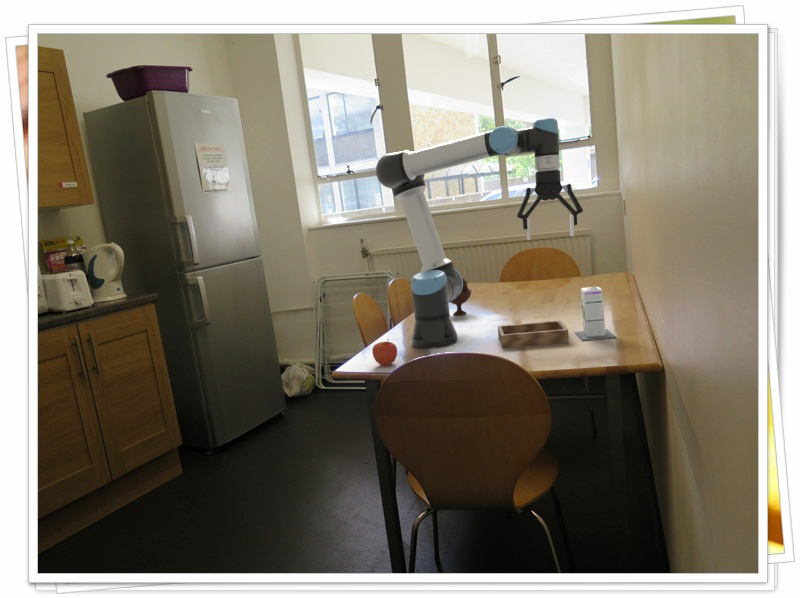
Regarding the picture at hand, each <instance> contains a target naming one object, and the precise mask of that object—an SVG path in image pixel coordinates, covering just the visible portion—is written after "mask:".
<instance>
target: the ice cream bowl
mask: <svg viewBox="0 0 800 598" xmlns="http://www.w3.org/2000/svg"><path fill="white" fill-rule="evenodd" d="M462 280H463V288H462V291H461V293H460V294H459V296H458V297H457V298H456V299H455V300H453V301H451V302H450V303H451V304H452V305H456V310H455V312H454V313H453V315H452V316H454V317H458V316H459V317H460V316H465V315H467V312H466V311H464V310H463V308H462V305H463V304H465V303H466V302H468V300H469V299H470V298H471V295H472V289H469V287H468V281H467V280H466V279H465V278H463V277H462Z"/></svg>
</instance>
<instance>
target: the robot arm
mask: <svg viewBox="0 0 800 598" xmlns="http://www.w3.org/2000/svg"><path fill="white" fill-rule="evenodd" d="M528 153H534V169H535V170H536V172H535V176H534V177H535V187H533V188H532V187H526V188H525V195H524V198H523V201H522V203H521V204H520V206H519V209H518V211H517V214H516V217H517V218H519V219H522V228H523V230H526V240H528V241H531V226H530V225H531V222H530V219H529V218H528V217H530V215H531V213H532V212H533V211H534V210H535V208H536V207H537V206H538V204H540V202H541V201H549V200H551V201H554V200H556V199H557V200H558V201H559V202H560V203H561V204H562V205H563V206H564V208H566V210H567V211H568V212H570V213H571V214H570V215H569V235H570V237H575V226H577V225H578V215H579V214H581V213H583V212H584V210H583V207H582V206H581V204H580V202H579V200H578V199H577V197H576V195H575V194H574V192H573V188H572V184H571V183H567V184H563V185H562V183H561V170H560V169H559V168H561V167H560V166H561V164H560V163H561V162H560V133H559V125H558V120H557V119H556V118H553V117H552V118H551V117H550V118H549V117H546V118H540V119H535V120H534V121H533V122H532V127H527V128H519V129H515V128H512V127H510V126H507V125H501V126H497V127H495V128H494V129H491V130H488V131H484V132H481V133H477V134H474V135H469V136H466V137H462V138H459V139H455V140H451V141H447V142H444V143H440V144H438V145H437V144H436V145H433V146H430V147H429V146H428V147H426V148H425V147H424V148H422V149H418V150H415V151H414V150H413V151H409V150H408V149H406V150H401V151H398V152H389V153H387V154H384V155H383V156H381V157H380V158H379V160H378V162H377V163H376V167H375V176H376V179H377V180H378V181H379V183H380V184H381V185H382V186H384V187H385V188H387V189H391V191H392V194H393V197H394V198H395V199H396V200H398V201H400V204H401V207H402V209H403V213H404V215H405V219H406V221H407V224H408V226H409V230H410V232H411V236H412V237H413V242H414V244H415V246H416V247H415V248H416V249H417V252H418V255H419V256H418V257H419V259H420V262H421V263H422V267H421V270H420V272H418V273H416V274H415V275H413V276H412V277H411V280H410V290H411V294H412V295H411V297H412V304H413V305H412V306H413V313H414V326H413V332H412V336H411V342H412V346H414V347H415V348H419V349H420V348H421V349H434V348H433V347H436V348H441V347H442V346H443V347H447V346H451V345H453V344H455V343H457V342H458V334H457V330H456V328H455V327H454V324H453V322H452V319H451V316H450V314H451V313H450V306H449V305H450V303H451V301H453V300H455V299H456V298H457V297H458V296H459V294H460V293H461V291H462V288H463V280H462V278H463V277H462V275H461V274H460V272H459V271H458V270H456V269H455V266H454V264H453V261H452V260H451V259H449V258H447V257H446V254H445V250H444V247H443V245H442V242H441V240H440V237H439V233H438V230H437V228H436V224H435V221H434V219H433V216H432V213H431V210H430V207H429V205H428V201H427V199H426V196H425V190H426V188H427V185H426V183H425V179H424V177H425V174H428V173H432V172H438V171H441V170H444V169H449V168H453V167H458V166H460V165H464V164H468V163H469V164H470V163H472V162H476V161H480V160H485V159H488V158H492V157H498V156H500V157H502V156H506V157H509V156H511V155H512V156H513V155H521V154H528ZM535 170H534V171H535ZM563 190H564V192H566V194H567V195H568V198H570V201H571V202H572V204H573V206H574V207H572V205H571V204H570V203H569V202H568V201H567V200H565V197H563V195H561V192H562V191H563ZM534 193H535V194H536V195H537V196H536V198H534V201H532V203H531V205H530V206H529V207H528V209H527V210H526V211H525V209H526V206H527V205H528V201H529V199H530V196H531V195H533V194H534ZM574 208H575V209H574ZM524 211H525V213H524ZM523 213H524V214H523ZM450 344H451V345H450ZM443 347H442V348H443Z"/></svg>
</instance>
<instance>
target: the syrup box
mask: <svg viewBox="0 0 800 598" xmlns="http://www.w3.org/2000/svg"><path fill="white" fill-rule="evenodd" d="M603 295H604V294H603V289H602V288H601V287H600V286H589V287H581V288H580V296H581V310H582V320H583V322H582V323H583V331H584V333H585V335H586V336H587V337H595V336H605V329H606V322H605V309H604V308H605V307H604V299H603V297H604V296H603Z"/></svg>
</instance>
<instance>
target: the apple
mask: <svg viewBox="0 0 800 598" xmlns="http://www.w3.org/2000/svg"><path fill="white" fill-rule="evenodd" d="M371 353H372V357H373V359H374V360H375V362H376V363H378V364H379V365H380V366H382V367H388V366H390V365H392V364H393V363H394V362H395V361H396V359H397V356H398V348H397V346H396V344H395V343H393V342H391V341H389V338H388V339H387V341H380V342H377V343H376V344H374V345H373V347H372V352H371ZM391 363H392V364H391Z"/></svg>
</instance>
